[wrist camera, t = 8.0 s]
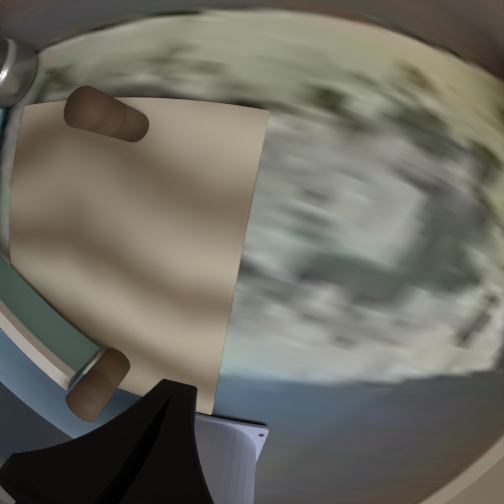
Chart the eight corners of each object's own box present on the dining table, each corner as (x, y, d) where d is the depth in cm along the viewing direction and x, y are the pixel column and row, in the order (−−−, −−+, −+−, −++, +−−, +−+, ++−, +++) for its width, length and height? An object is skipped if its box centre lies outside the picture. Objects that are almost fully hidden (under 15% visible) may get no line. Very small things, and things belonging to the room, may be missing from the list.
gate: (100, 346, 18) (70, 378, 14) (95, 358, 19) (66, 391, 14) (-6, 245, 17) (-41, 257, 13) (-8, 259, 17) (-41, 272, 13)
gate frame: (213, 407, 21) (197, 472, 14) (27, 338, 21) (-15, 370, 14) (269, 115, 16) (271, 70, 9) (32, 107, 16) (-26, 95, 9)
